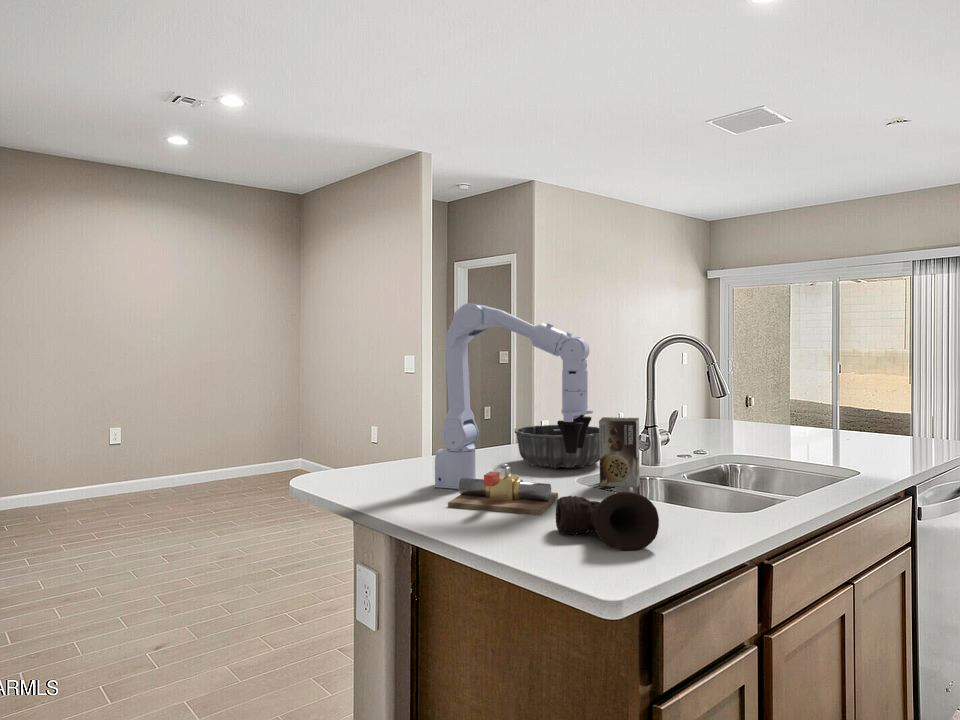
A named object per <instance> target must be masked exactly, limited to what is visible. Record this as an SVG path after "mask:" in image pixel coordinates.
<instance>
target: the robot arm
mask: <svg viewBox="0 0 960 720" xmlns="http://www.w3.org/2000/svg"><path fill="white" fill-rule="evenodd" d="M452 317H453V319H452V321H451V323H450V326H449V327H448V330H447V332H446V333H445V339H444V340H445V343H444V344H445V356H446V357H445V359H446V381H447V402H448V411H447V413H446V415H445V418H444V419H443V421H444V425H443V429H442V431H441V435H440V437H441V441H442V444H443V445H444V446H445V448H439V449H438V450H437V451H436V453H435V458H434V485H433V487H434V488H440V489H441V488H442V489H454V490H455V489H456V490H459V482H460V479H461V478H471V479H477V478H476V446H475V442H476V441H477V440H478V438H479V433H480V432H479V428H478V426H477V423H476V421H475V415H474V413H473V411H472V409H471V394H470V393H471V391H470V389H471V388H470V370H469V351H468V350H469V349H468V348H469V347H468V344H469V343H470V342H471V341H472V340H473V339H474V338H475V337H476V336H477V335H480V334H481V333H483V332H485V331H487V330H489V329H490V328H498V327H501V328H504V329H506V330H508V331H511V332H513V333H516V334H517V335H518V334H519V335H521V336H523V337H526V338H528V339H529V340H530V342H531V345H532V347H534V348H537V349H540V350H542V351H544V352H546V353H549V354H550V355H553V356H555V357H560V358H561V360H562V371H561V372H562V373H561V376H562V377H561V384H562V385H561V386H562V387H561V403H562V404H561V415H562V416H563V419H562V420H560V419H559V420H558V421H557V424H556V425H558V426H559V428H560V430H561V433H562V436H563V439H564V444H565V449H566V452H567V453H576V452H577V448H583V446H584V441H585V436H586V431H587V428H588V426H589V425H590V422H591V421H592V416H588V415H591V414H594V410H593V409H588V406H589V405H588V404H589V403H588V387H589V385H588V382H589V381H588V380H589V379H588V374H589V373H588V360H587V358H588V357H589V355H590V346H589V344H588V342H587V341H586V340H584V339H583V338H582V337H580V336H575V337H572V336H573V333H572V332H570V331H567V332H565V331H563V330H560V329H558V328H556V327H554V325H555V324H553V323H550V322H547V323H544V322H542V323H540V324H537V325H534V324H532V323H531V322H530V323H529V322H528V321H526V320H524V319H522V318H519V317H517V316H515V315H513V314H510V313H509V312H506V311H504V310H502V309H498V308H495V307H491V306H488V305H485V304H475V303H471V302H468V303H465V304H462V305H461V306H460V307H459V308H458V309H456V311H454V312H453V316H452ZM586 415H587V416H586Z"/></svg>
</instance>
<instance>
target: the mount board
mask: <svg viewBox="0 0 960 720" xmlns="http://www.w3.org/2000/svg"><path fill="white" fill-rule="evenodd" d="M558 499H559V493H558V492H552V491H551V498H550V501H542V500H529V499H520V500H513V501H508V500H495V499H490V498H486V496H477V495H464V494H460V495H458V496H456V497H454V498H453V499H451V500H449V501H448V502H447V507H448V508H455V507H456V508H457V509H469V510H470V509H471V510H480V511H491V512H492V511H493V512H505V513H515V514H527V515H539V516H540V515H541V514H542V513H543V512H544V511H546V510H547V508H548V507H549V506H551V505H552V504H553V503H554V502H555V501H557V500H558Z"/></svg>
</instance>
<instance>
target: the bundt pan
mask: <svg viewBox="0 0 960 720" xmlns="http://www.w3.org/2000/svg"><path fill="white" fill-rule="evenodd" d="M514 434H516V438H517V445H518V451H519V455H520V457H521V458H522V459H523V460H524V462H526V463H528V464H530V465H532V466H534V467H542V468H549V467H553V468H555V470H557V469H559V468H560V467H562V468H565V469H571V468H577V469H580V468H583V467H588V466H591V465H594V464H596V463H599V462H600V449H599V426H589V425H588V428H587V431H586V436H585V441H584V446H583V448H577V452H576V453H567V452H566V449H565V444H564V439H563V436H562V433H561V430H560V428H559V426H558V424H542V425H532V426H531V425H530V426H521V427H519V428H515V429H514Z"/></svg>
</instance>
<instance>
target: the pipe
mask: <svg viewBox="0 0 960 720" xmlns="http://www.w3.org/2000/svg"><path fill="white" fill-rule="evenodd" d="M658 513H659V512H658V510H657V507H656V506H655V505H654V503H653V502H652V501H651V500H649V499H648V497H646V496H644V495H642V494H641V493H636V492H631V491H618V492H615V493H612V494H610V495H608V496H606V497H605V498H604V499H603V500H601V501H596V500H592V501H591V500H589V499H588V498H586V497H584V496H576V495H568V496H561V497H558V498H557V499H556V506H555V525H556V529H557V530H558V532H559V533H561V534H565V535H566V534H567V535H571V534H573V535H577V534H578V535H579V534H583V533H588V532H591V531H593V532H596V533H597V535H598V537H599V538H600V539H601V541H602V542H603V543H604V544H605V545H606V546H607V547H610V548H611V549H614V550H618V551H622V552H636V551H639V550H643V549H644V548H646V547H648V546H649V545H650V544H652V543H653V542H654V540H655V539H656V537H657V535H658V531H659V527H660V526H659V525H660V520H659V519H660V518H659V514H658Z"/></svg>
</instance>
